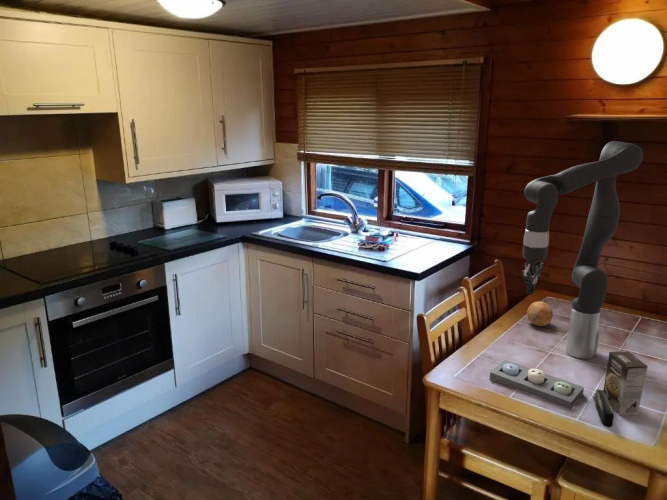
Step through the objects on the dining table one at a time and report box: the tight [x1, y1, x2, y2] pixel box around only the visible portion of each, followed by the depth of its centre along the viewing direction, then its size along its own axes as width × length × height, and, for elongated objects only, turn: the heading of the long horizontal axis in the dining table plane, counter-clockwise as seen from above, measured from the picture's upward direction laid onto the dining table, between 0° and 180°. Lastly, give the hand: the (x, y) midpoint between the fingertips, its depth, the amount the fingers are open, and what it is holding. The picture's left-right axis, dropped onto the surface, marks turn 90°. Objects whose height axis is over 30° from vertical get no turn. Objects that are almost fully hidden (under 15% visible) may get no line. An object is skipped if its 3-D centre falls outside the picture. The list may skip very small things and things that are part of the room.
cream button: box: [527, 368, 546, 386], centre depth 167 cm, size 5×5×3 cm
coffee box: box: [602, 350, 648, 416], centre depth 155 cm, size 9×6×16 cm
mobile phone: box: [592, 389, 615, 428], centre depth 154 cm, size 5×3×15 cm
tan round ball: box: [526, 301, 554, 327], centre depth 211 cm, size 10×10×10 cm
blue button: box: [502, 363, 519, 377], centre depth 173 cm, size 5×5×3 cm
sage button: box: [554, 381, 572, 396], centre depth 162 cm, size 5×5×3 cm
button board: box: [489, 359, 585, 410], centre depth 168 cm, size 26×11×2 cm, turn 47°
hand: (530, 293), depth 173 cm, fingers closed
